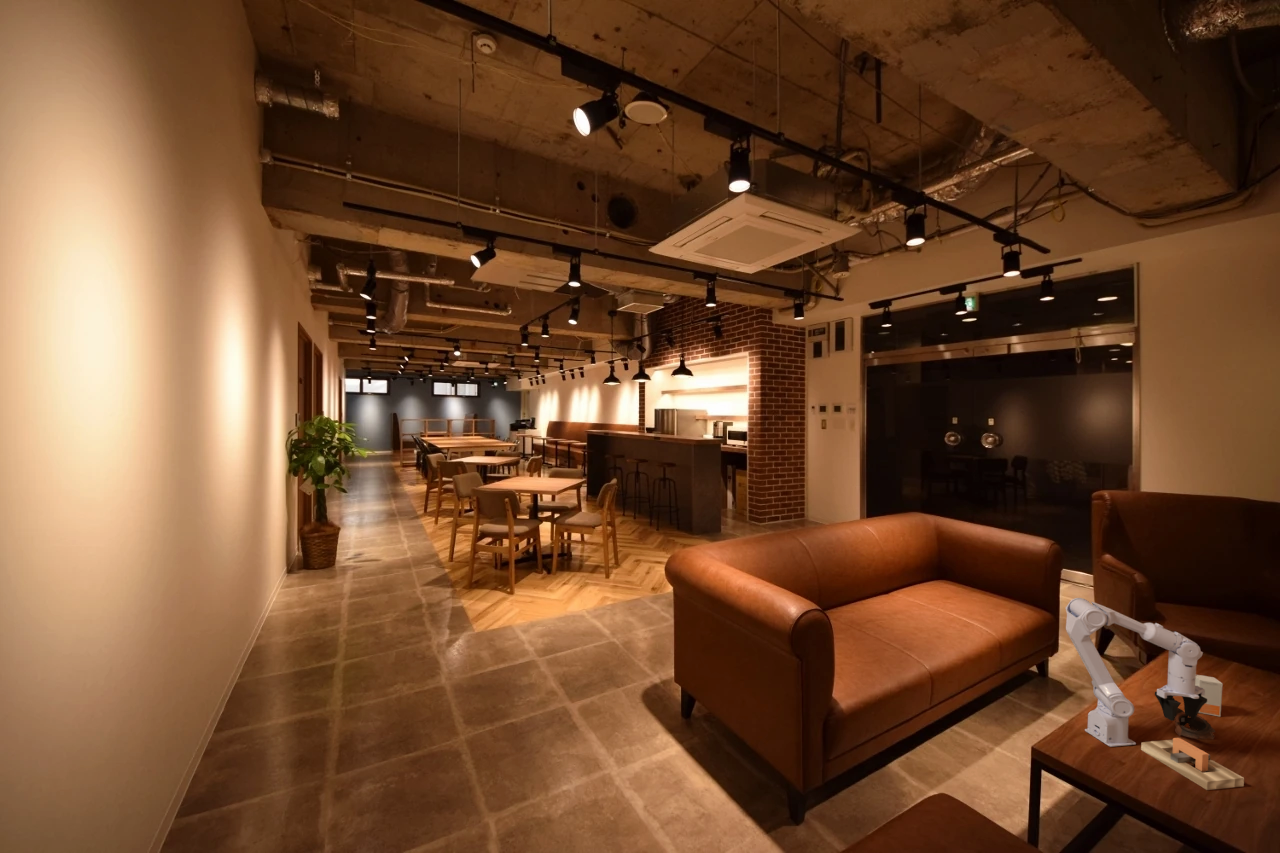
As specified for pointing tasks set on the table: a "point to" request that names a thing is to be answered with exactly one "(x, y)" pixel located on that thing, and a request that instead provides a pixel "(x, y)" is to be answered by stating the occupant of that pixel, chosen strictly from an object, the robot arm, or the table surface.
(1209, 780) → the light wood flat frame
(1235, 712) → the table surface
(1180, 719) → the pottery mug
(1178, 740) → the orange hook block
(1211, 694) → the skincare box
